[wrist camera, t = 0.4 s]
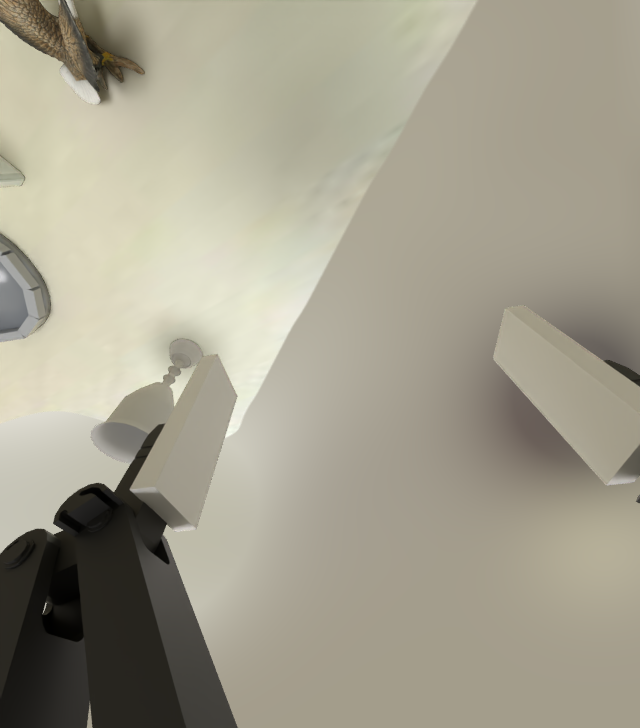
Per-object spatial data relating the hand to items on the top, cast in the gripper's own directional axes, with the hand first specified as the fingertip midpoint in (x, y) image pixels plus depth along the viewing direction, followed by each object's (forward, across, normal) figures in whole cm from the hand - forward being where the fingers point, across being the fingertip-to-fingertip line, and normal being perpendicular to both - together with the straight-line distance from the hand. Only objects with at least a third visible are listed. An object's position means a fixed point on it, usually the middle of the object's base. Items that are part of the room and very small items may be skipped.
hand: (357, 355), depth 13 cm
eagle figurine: (+27, -18, +18) cm, 38 cm away
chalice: (+27, -25, -14) cm, 39 cm away
